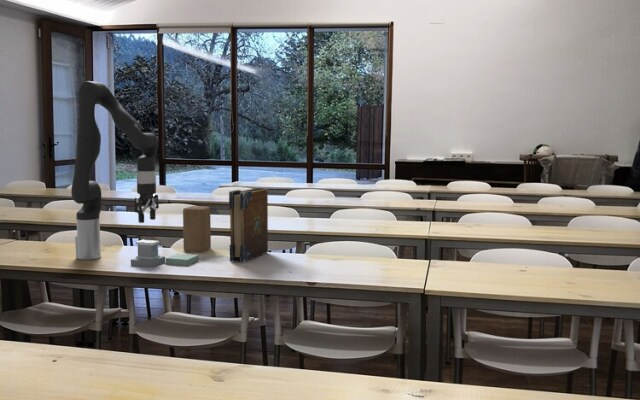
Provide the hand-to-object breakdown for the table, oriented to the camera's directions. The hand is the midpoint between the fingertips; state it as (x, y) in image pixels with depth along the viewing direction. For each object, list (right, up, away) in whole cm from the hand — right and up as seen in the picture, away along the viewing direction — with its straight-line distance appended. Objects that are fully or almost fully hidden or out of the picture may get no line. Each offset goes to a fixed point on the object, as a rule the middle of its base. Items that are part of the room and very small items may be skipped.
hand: (147, 221), depth 248 cm
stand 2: (+13, -18, +5) cm, 23 cm away
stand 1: (0, -18, +2) cm, 18 cm away
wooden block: (+14, -15, +31) cm, 37 cm away
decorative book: (+41, -17, +17) cm, 47 cm away
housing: (0, -15, +2) cm, 16 cm away
